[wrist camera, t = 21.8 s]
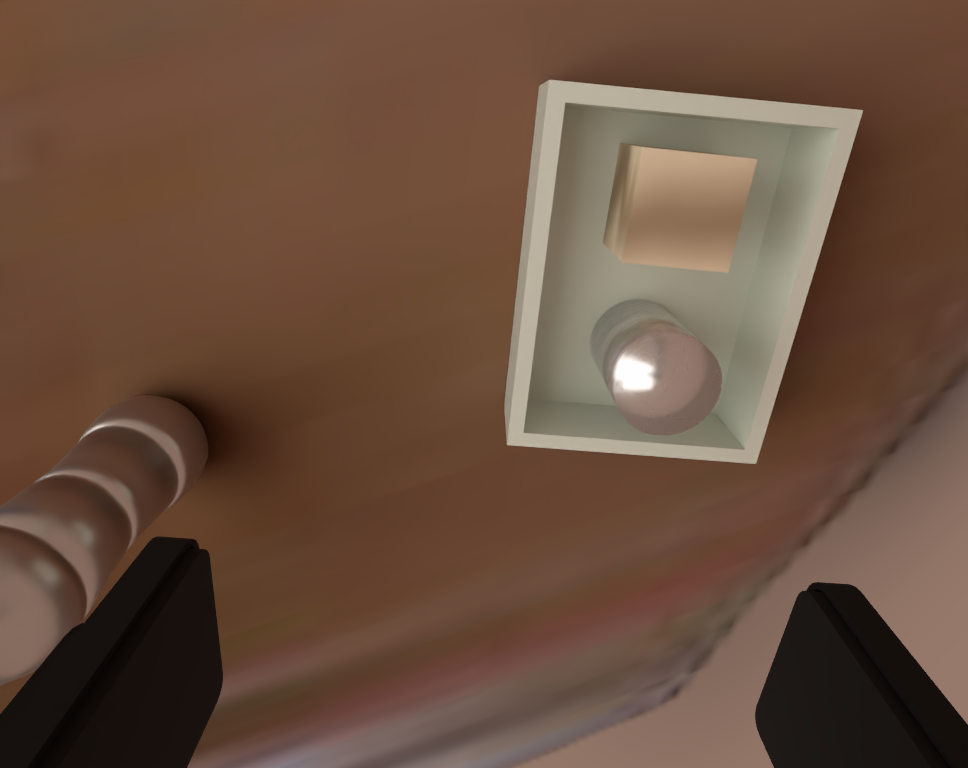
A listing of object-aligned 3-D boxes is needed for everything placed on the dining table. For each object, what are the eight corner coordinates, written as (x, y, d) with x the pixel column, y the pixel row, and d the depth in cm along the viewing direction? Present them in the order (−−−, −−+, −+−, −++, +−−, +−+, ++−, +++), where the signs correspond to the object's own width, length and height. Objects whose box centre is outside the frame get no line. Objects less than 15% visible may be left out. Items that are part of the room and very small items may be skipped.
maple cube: (619, 143, 31) (643, 147, 26) (716, 153, 31) (757, 159, 26) (602, 242, 33) (622, 262, 28) (694, 251, 33) (728, 272, 28)
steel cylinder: (603, 291, 34) (631, 326, 27) (689, 308, 34) (737, 347, 28) (580, 373, 36) (601, 425, 29) (662, 389, 36) (701, 443, 29)
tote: (539, 86, 30) (549, 79, 26) (806, 112, 31) (863, 110, 26) (504, 405, 37) (506, 444, 33) (722, 422, 38) (755, 463, 33)
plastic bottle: (221, 392, 37) (-40, 660, 19) (219, 486, 40) (-10, 802, 21) (111, 374, 36) (-267, 631, 18) (117, 470, 39) (-208, 779, 21)
